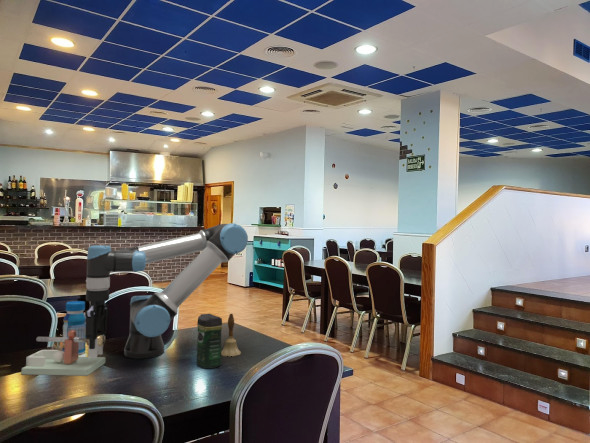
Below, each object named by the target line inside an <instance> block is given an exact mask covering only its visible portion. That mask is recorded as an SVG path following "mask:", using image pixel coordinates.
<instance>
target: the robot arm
mask: <svg viewBox="0 0 590 443" xmlns="http://www.w3.org/2000/svg"><path fill="white" fill-rule="evenodd" d="M248 237H249V236H248V233H247V231H246V229H245V228H244V227H243V226H242V225H240V224H237V223H233V222H232V223H231V222H230V223H220V224H216V225H214V226H212V227H209V228H205V229H201V230H199V231H198V232H197V233H194V234H189V235H184V236H179V237H174V238H171V239H166V240H161V241H156V242H151V243H148V244H142V245H139V246H134V247H129V248H122V249H119V250H118V251H117V250H112V247H111V245H98V244H97V245H90V246H89V247H88V249H87V255H86V256H87V257H86V280H85V283H86V285H85V286H86V291H85V300H86V301H85V302H89V306H88V307H89V308H88V310H84V311H85V312H84V314H85V316H86V339H89V346H88V356H87V357H88V358H97V357H98V355H103V353H104V345H103V346H98V339H96V338H97V335H105V336H106V335H107V327H108V326H107V323H108V310H109V304H106V303H105V302H106V301H109V300H110V289H109V288H110V286H111V285H110V284H111V273H117V272H118V273H119V272H120V273H126V272H127V273H128V272H129V273H131V272H133V273H137V272H144V271H145V269H146V266H147V264H150V263H155V262H160V261H164V260H168V259H173V258H177V257H181V256H182V257H183V256H185V255H189V254H194V253H197V252H200V253H199V254H198V255H197V256H196V257H195V258H194V259H193V260H191V262H190V263H189V264H188V265H187V266H186V267H184V269H183V270H182V271H181V272H180V273H179V274H178V275H177V276H176V277H175V278H174V279H173V280H171V282H170V283H169V284H168V285H167V286H166V287H165V288H164V289H163V290H162V291H158V292H154V293H153V294H149V295H147V294H146V295H134V296H132V297H131V298H130V302H129V305H130V307H129V308H130V310H129V315H130V316H129V333H128V334H129V335H128V338H127V341H126V343H125V346H124V350H123V351H124V352H123V355H124V357H126V358H129V359H150V358H151V359H152V358H156V357H159V356H162V355H163V354H164V353H165V344H164V340H163V338H162V335H163V334H164V333H165V332H166V331H167V330H168V328H169V327H170V323H171V321H172V320H173V319H174V318H175V317H176V316H177V315H178V310H179V309H178V308H179V307H180V306H181V305H182V304H183V303H184V302H185V301H186V300H187V298H189V297H190V296H191V295H192V294H193V293H194V292H195V290H197V288H199V286H200V285H202V283H204V281H205V280H206V279H207V278H209V276H210V275H211V274H212V273H213V272H214V271H215V270H216V269H217V268H218V267H219V266H220V265H221V264H222V263H228V262H229V261H230V260H231V259H232V258H233V257H234V256H235V255H238V254H240V253H241V252H243V251H244V250H245V249H246V247H247V246H248V242H249V240H248V239H249V238H248Z"/></svg>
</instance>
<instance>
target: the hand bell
mask: <svg viewBox="0 0 590 443" xmlns="http://www.w3.org/2000/svg"><path fill="white" fill-rule="evenodd" d="M234 326H235V317H234V314H233V313H229V316H228V319H227V327H228V338H227V339H225V341H224V346H223V349H221V357H222V356H223V357H227V356H228V357H229V358H230V357H231V356H232V357H237V356H240V355H241V354H242V352H241V350H239V348H238V344H237V340H236V339H235V338H234Z"/></svg>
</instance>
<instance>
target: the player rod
mask: <svg viewBox="0 0 590 443" xmlns="http://www.w3.org/2000/svg"><path fill="white" fill-rule="evenodd" d="M76 335H77V333H76V331H75V330H71V331H69V332H68V337H63V336H61V337H60V336H37V337H36V339H35V340H36V342H41V343H42V342H43V343H44V342H46V343H63V342H65V351H64V363H69V364H71V363H73V362H74V361H76V360H78V357H79V355H78V349H79V342H85V344H86V345H87V346H88V347H89V339H86V338H79V337H75V336H76ZM96 339H98V346H103V347H104V345H105V344H106V335H97V338H96Z"/></svg>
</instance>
